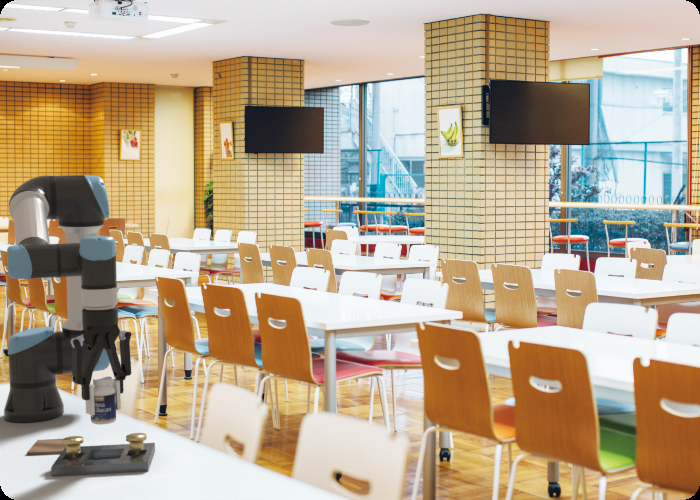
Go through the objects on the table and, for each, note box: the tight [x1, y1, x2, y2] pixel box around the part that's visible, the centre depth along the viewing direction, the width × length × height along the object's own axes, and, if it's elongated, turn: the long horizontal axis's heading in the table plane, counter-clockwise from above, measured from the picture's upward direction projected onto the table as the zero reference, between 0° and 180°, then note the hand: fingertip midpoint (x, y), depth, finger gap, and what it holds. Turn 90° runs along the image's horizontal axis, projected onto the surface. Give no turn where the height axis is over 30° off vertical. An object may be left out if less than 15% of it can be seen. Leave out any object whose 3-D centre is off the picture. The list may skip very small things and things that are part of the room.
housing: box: [50, 442, 156, 477], centre depth 185 cm, size 14×20×2 cm
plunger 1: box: [62, 435, 85, 458], centre depth 184 cm, size 4×4×4 cm
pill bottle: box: [90, 375, 117, 425], centre depth 184 cm, size 5×5×10 cm
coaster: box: [26, 438, 66, 456], centre depth 197 cm, size 10×10×1 cm
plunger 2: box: [125, 432, 147, 455], centre depth 186 cm, size 4×4×4 cm
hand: (103, 410), depth 185 cm, fingers closed on pill bottle, 5 cm apart
